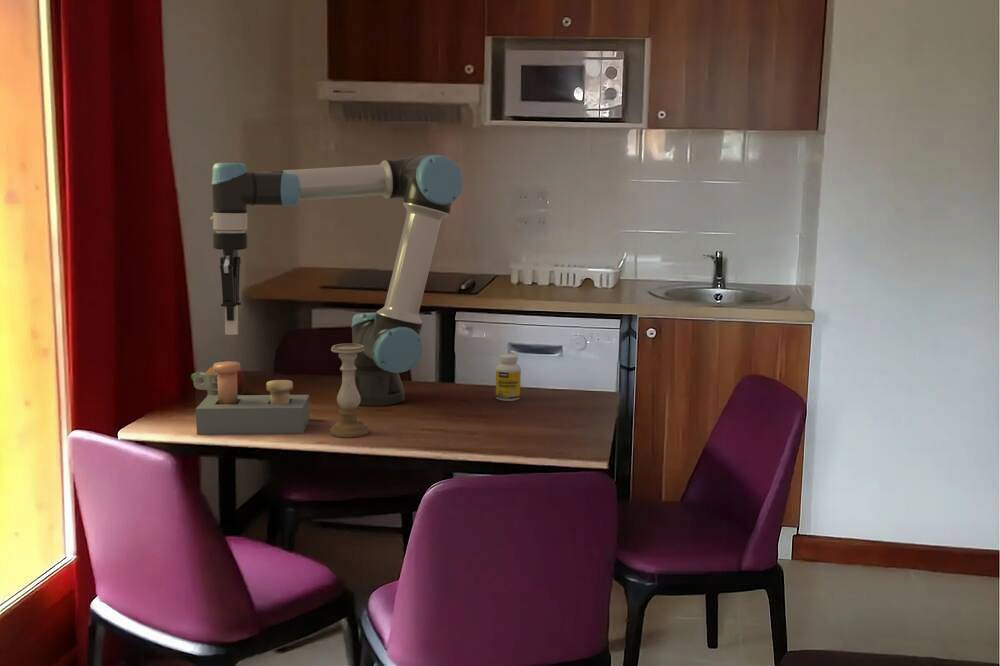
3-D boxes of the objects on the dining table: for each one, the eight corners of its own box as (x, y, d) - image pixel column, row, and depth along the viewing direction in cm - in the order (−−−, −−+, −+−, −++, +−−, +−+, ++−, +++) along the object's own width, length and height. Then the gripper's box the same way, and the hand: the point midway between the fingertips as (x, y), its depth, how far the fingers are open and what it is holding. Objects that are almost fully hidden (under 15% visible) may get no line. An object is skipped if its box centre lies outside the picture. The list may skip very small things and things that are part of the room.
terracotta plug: (243, 400, 241) (242, 361, 240) (238, 406, 236) (237, 366, 234) (217, 400, 241) (216, 361, 239) (212, 407, 235) (210, 366, 233)
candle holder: (371, 436, 232) (370, 349, 229) (332, 439, 230) (331, 350, 226) (365, 426, 240) (364, 342, 237) (327, 429, 238) (326, 343, 234)
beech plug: (295, 418, 243) (294, 379, 241) (291, 425, 237) (290, 385, 236) (269, 418, 243) (268, 379, 241) (265, 425, 237) (264, 385, 235)
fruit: (250, 399, 266) (249, 362, 264) (213, 404, 260) (211, 366, 258) (236, 391, 274) (235, 355, 273) (199, 396, 269) (198, 359, 267)
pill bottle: (491, 400, 268) (492, 356, 266) (501, 395, 274) (501, 352, 272) (514, 402, 265) (515, 358, 263) (523, 397, 271) (524, 354, 269)
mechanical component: (229, 416, 249) (228, 376, 247) (191, 413, 251) (189, 373, 249) (235, 413, 252) (233, 373, 250) (197, 410, 254) (195, 371, 252)
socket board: (309, 418, 247) (309, 394, 246) (303, 433, 234) (302, 407, 233) (208, 419, 245) (207, 395, 244) (196, 434, 232) (195, 408, 231)
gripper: (218, 229, 237) (220, 329, 241) (207, 233, 225) (209, 338, 228) (251, 230, 238) (252, 329, 242) (242, 233, 225) (243, 339, 229)
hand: (231, 333), depth 235 cm, fingers closed
